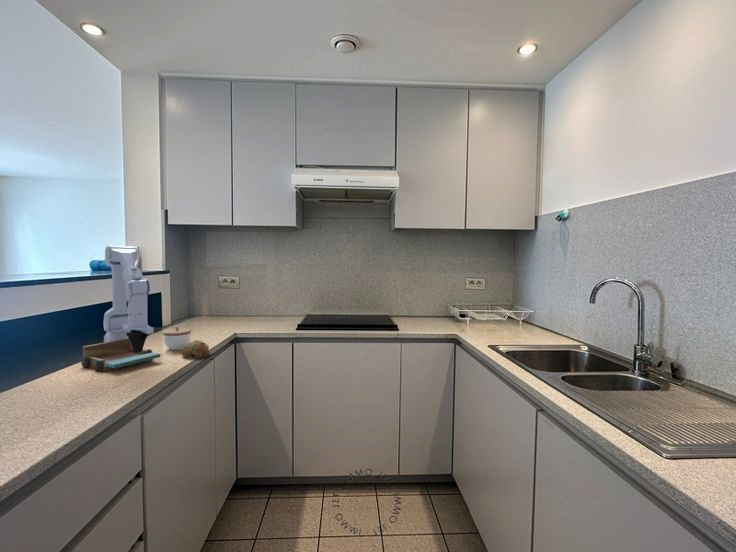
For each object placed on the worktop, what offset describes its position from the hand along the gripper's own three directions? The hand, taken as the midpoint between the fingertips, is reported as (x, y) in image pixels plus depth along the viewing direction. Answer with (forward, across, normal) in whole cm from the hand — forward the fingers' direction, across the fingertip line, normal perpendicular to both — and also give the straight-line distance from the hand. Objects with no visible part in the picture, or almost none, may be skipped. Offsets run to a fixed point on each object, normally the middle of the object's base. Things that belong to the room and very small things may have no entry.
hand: (138, 351), depth 121 cm
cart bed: (+6, -12, 0) cm, 13 cm away
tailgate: (+4, -5, 0) cm, 6 cm away
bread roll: (+6, +4, +20) cm, 22 cm away
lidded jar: (+6, -13, +24) cm, 28 cm away
